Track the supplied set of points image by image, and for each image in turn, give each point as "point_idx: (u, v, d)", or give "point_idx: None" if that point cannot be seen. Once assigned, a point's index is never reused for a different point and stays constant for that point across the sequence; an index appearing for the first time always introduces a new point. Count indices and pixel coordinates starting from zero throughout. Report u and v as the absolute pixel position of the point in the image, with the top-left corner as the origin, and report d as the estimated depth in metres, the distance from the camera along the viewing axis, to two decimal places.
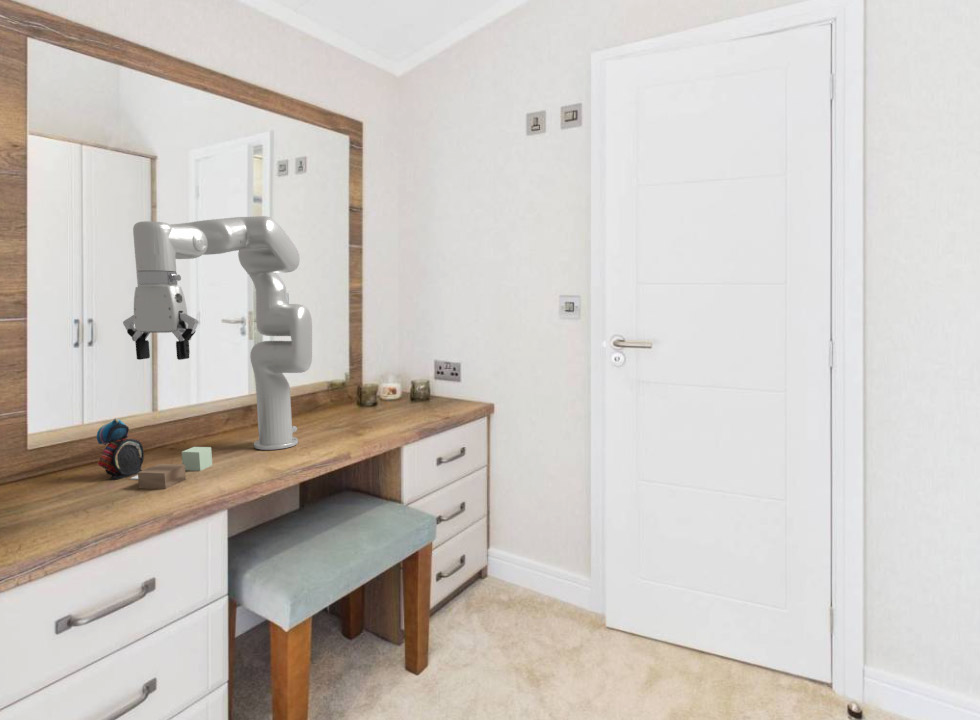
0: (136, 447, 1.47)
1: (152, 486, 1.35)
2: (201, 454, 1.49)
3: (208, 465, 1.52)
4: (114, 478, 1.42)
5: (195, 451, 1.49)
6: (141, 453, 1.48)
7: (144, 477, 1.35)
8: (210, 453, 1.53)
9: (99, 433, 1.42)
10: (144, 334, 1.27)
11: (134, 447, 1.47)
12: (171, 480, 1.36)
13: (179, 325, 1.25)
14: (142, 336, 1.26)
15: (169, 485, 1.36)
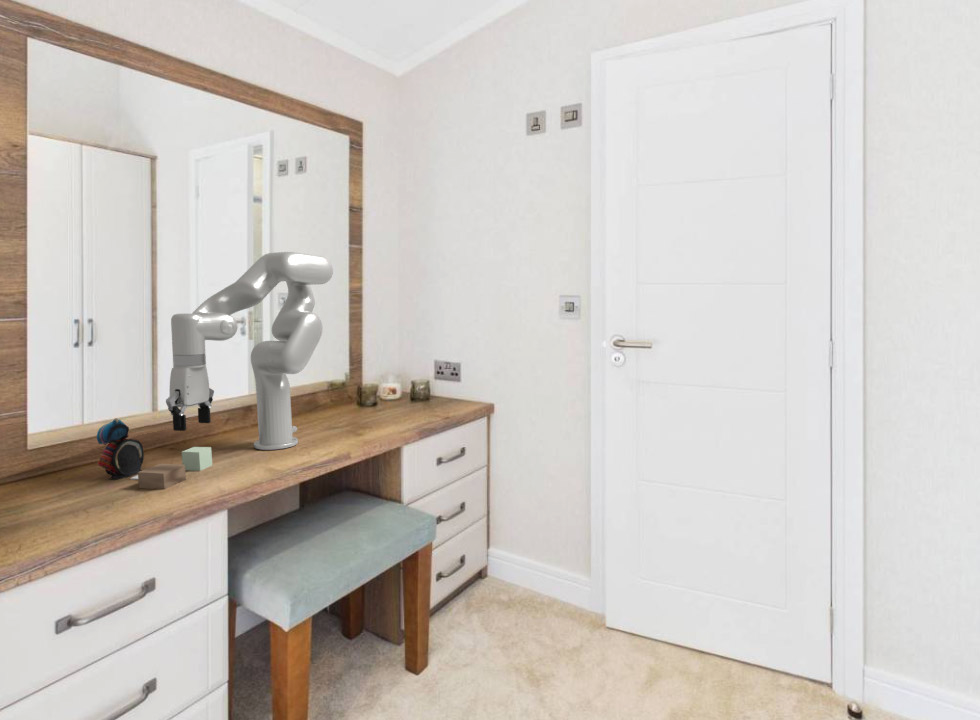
0: (136, 447, 1.47)
1: (151, 486, 1.35)
2: (202, 454, 1.49)
3: (208, 465, 1.52)
4: (114, 478, 1.42)
5: (195, 451, 1.49)
6: (141, 453, 1.48)
7: (144, 477, 1.35)
8: (210, 453, 1.53)
9: (99, 433, 1.42)
10: None
11: (134, 447, 1.47)
12: (171, 480, 1.36)
13: None
14: None
15: (168, 485, 1.35)
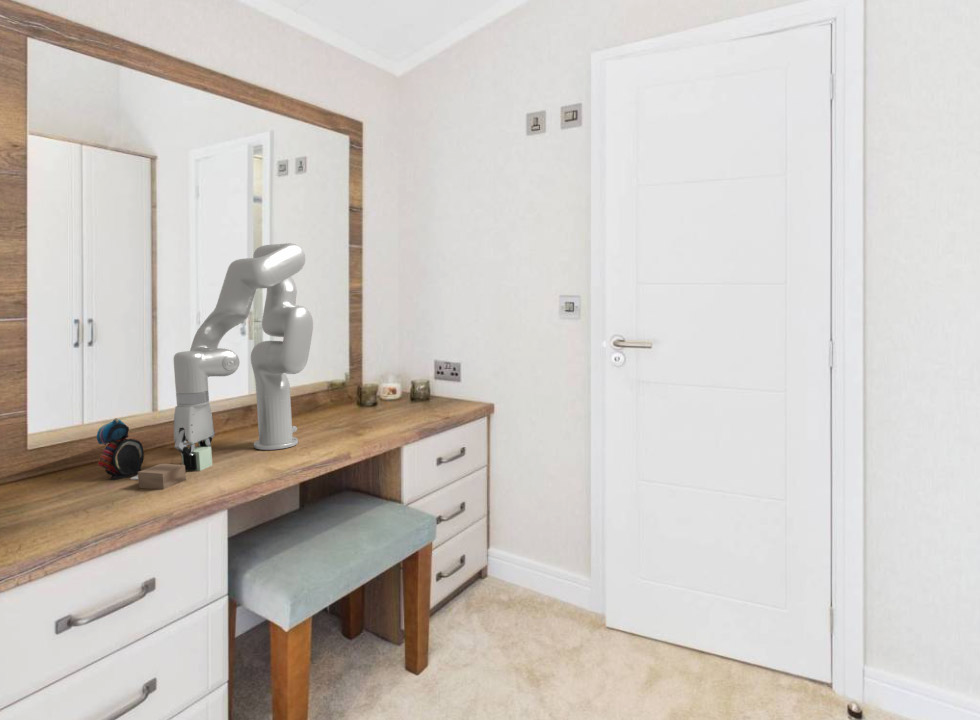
0: (136, 447, 1.47)
1: (151, 486, 1.35)
2: (201, 454, 1.49)
3: (208, 465, 1.52)
4: (114, 478, 1.42)
5: (195, 451, 1.49)
6: (141, 453, 1.48)
7: (143, 477, 1.35)
8: (210, 452, 1.53)
9: (99, 433, 1.42)
10: None
11: (134, 447, 1.47)
12: (170, 480, 1.36)
13: None
14: None
15: (167, 485, 1.35)
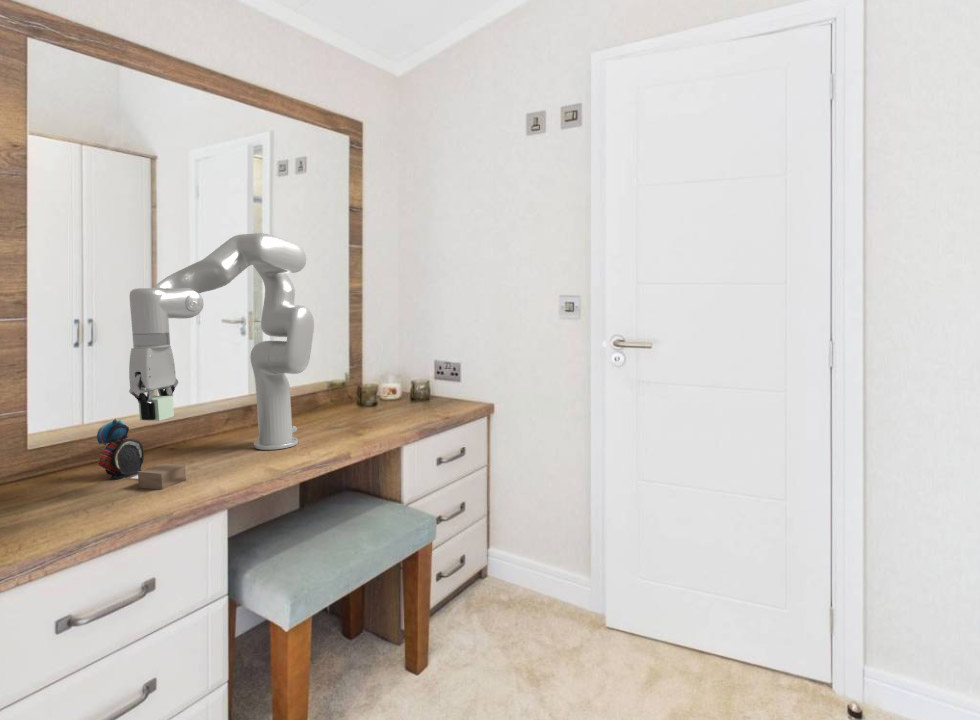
0: (136, 447, 1.47)
1: (150, 486, 1.35)
2: (161, 402, 1.34)
3: (169, 415, 1.37)
4: (114, 478, 1.42)
5: (154, 399, 1.34)
6: (141, 453, 1.48)
7: (143, 477, 1.35)
8: (172, 402, 1.38)
9: (99, 433, 1.42)
10: None
11: (134, 447, 1.47)
12: (169, 480, 1.36)
13: None
14: None
15: (167, 486, 1.35)
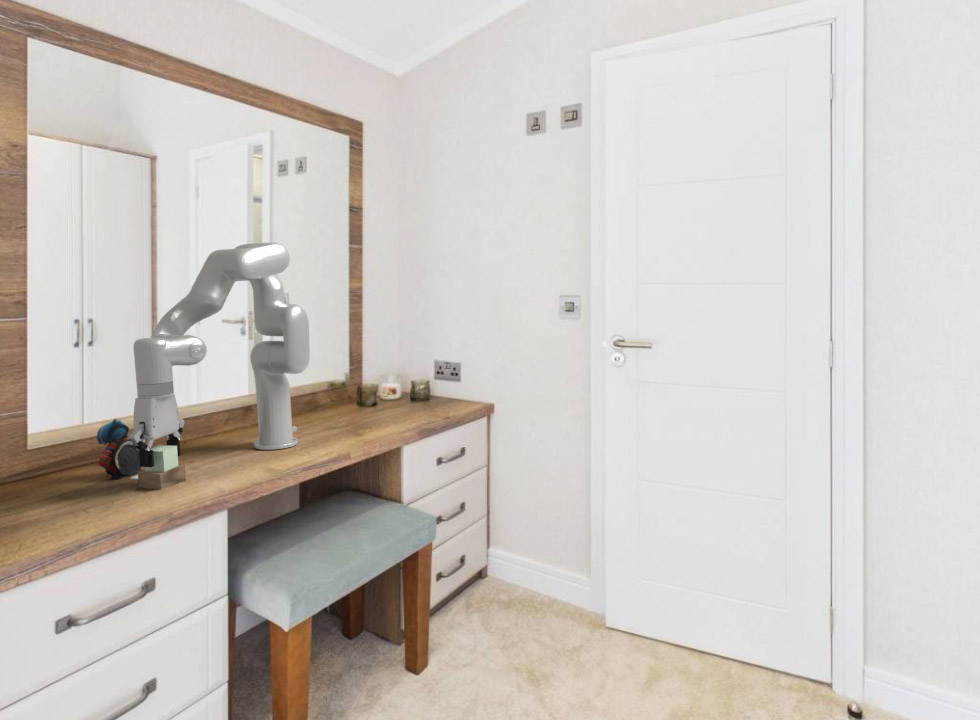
0: None
1: (150, 486, 1.35)
2: (166, 453, 1.36)
3: (173, 465, 1.38)
4: (114, 478, 1.42)
5: (159, 450, 1.36)
6: None
7: (143, 477, 1.35)
8: (176, 452, 1.40)
9: (99, 433, 1.42)
10: None
11: (134, 447, 1.47)
12: (168, 481, 1.36)
13: None
14: None
15: (165, 486, 1.35)
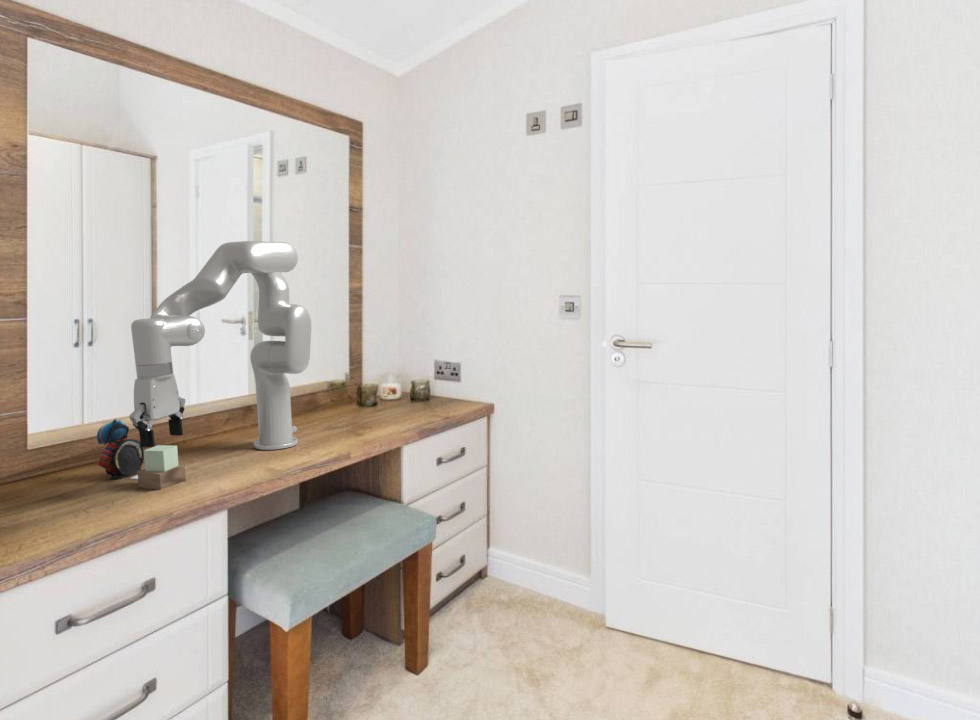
0: (136, 447, 1.47)
1: (149, 486, 1.35)
2: (166, 453, 1.36)
3: (173, 465, 1.39)
4: (114, 478, 1.42)
5: (159, 450, 1.36)
6: (141, 453, 1.48)
7: (142, 476, 1.35)
8: (176, 452, 1.40)
9: (99, 433, 1.42)
10: None
11: (134, 447, 1.47)
12: (168, 480, 1.36)
13: None
14: None
15: (165, 486, 1.35)
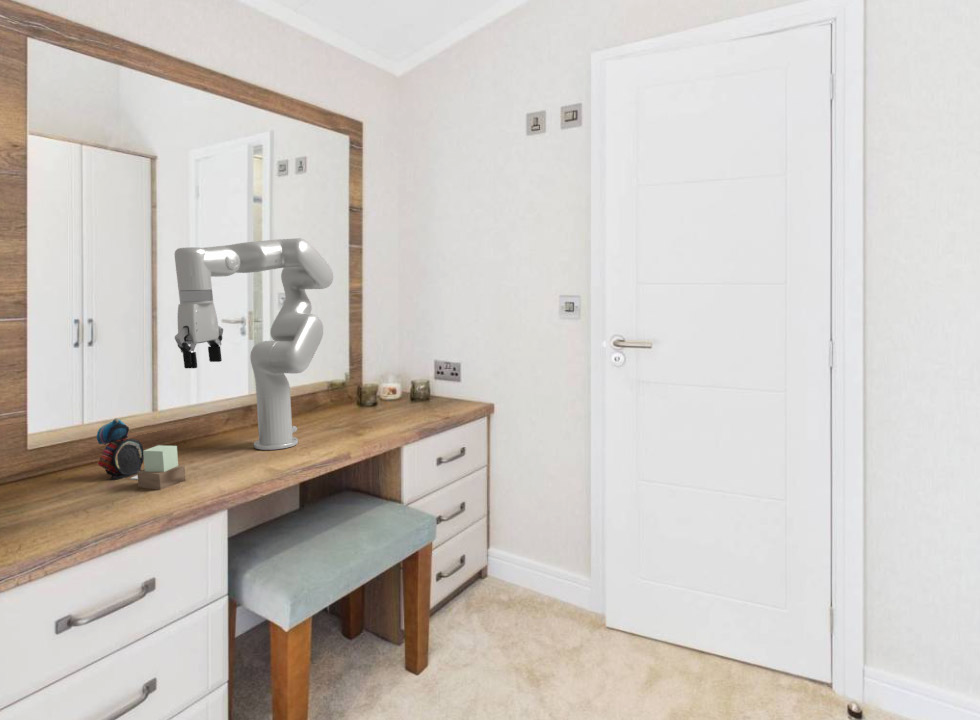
0: (136, 447, 1.47)
1: (149, 486, 1.35)
2: (166, 453, 1.36)
3: (173, 465, 1.38)
4: (114, 478, 1.42)
5: (158, 450, 1.36)
6: (141, 453, 1.48)
7: (142, 477, 1.35)
8: (176, 452, 1.39)
9: (99, 433, 1.42)
10: None
11: (134, 447, 1.47)
12: (168, 481, 1.36)
13: None
14: None
15: (165, 486, 1.35)
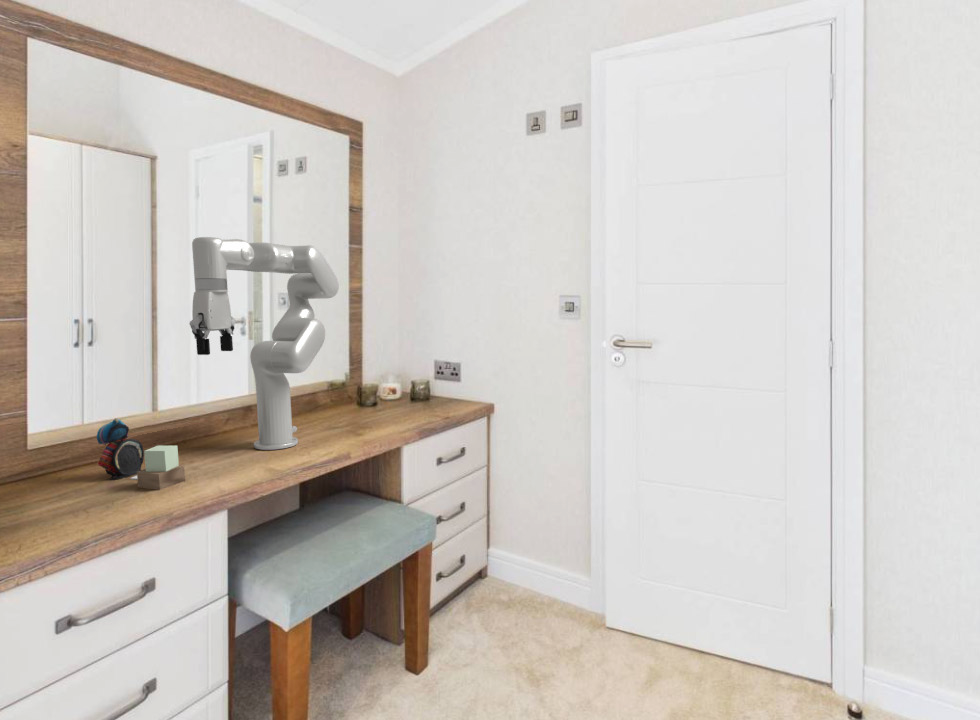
0: (136, 447, 1.47)
1: (149, 486, 1.35)
2: (167, 453, 1.36)
3: (174, 465, 1.39)
4: (114, 478, 1.42)
5: (160, 450, 1.36)
6: (141, 453, 1.48)
7: (142, 477, 1.35)
8: (177, 452, 1.40)
9: (99, 433, 1.42)
10: None
11: (134, 447, 1.47)
12: (167, 481, 1.36)
13: None
14: None
15: (164, 486, 1.35)
